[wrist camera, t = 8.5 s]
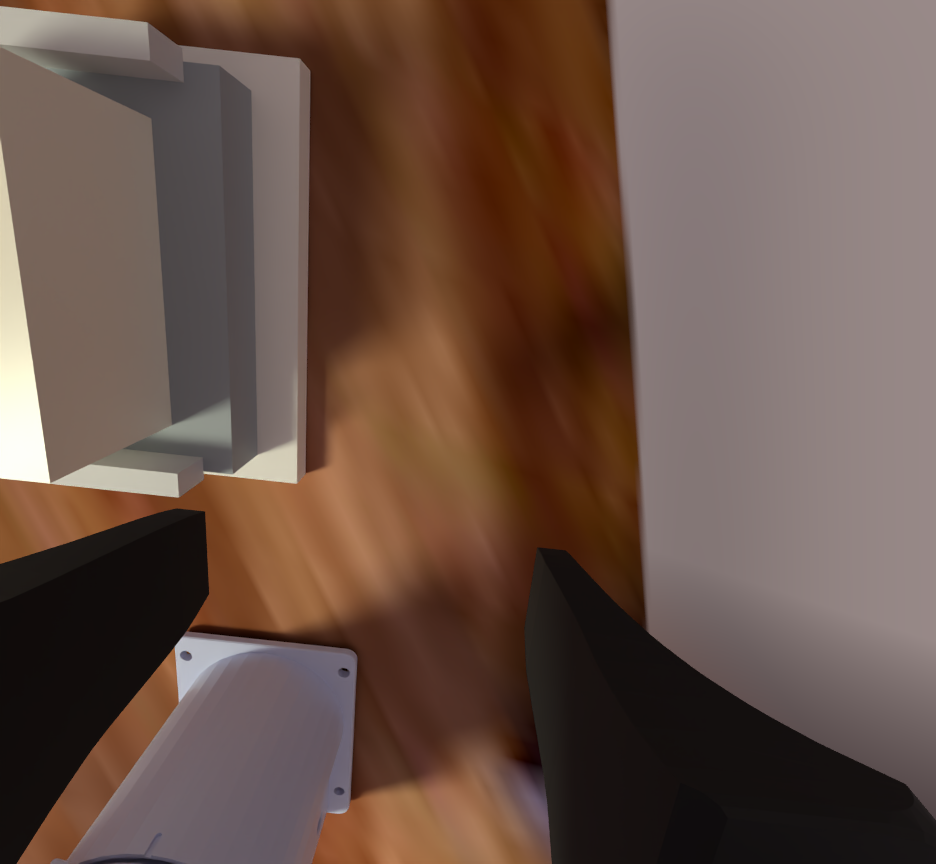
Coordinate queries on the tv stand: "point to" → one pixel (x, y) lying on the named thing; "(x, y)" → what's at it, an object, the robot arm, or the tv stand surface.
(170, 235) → the display stand
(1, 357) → the cream rectangular box
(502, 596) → the tv stand surface
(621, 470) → the tv stand surface
